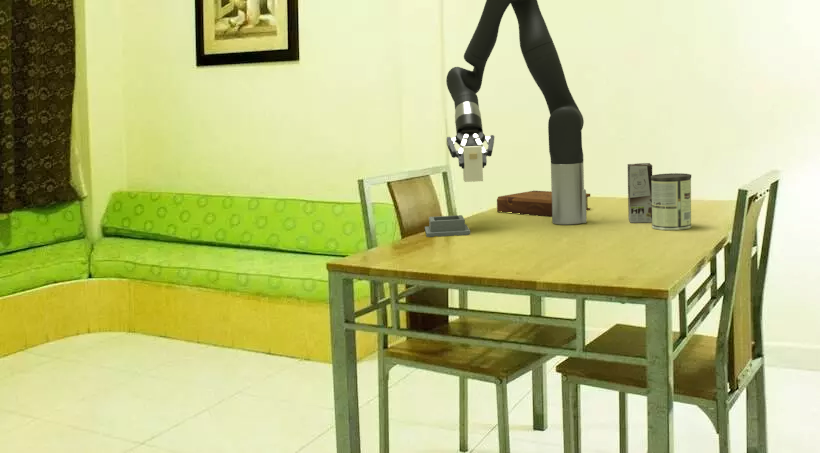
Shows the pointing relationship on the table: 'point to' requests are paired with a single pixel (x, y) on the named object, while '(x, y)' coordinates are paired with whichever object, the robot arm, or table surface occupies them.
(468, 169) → the cream block
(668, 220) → the coffee can
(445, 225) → the grey stepped pedestal
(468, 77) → the robot arm
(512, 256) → the table surface
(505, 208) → the diary
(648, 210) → the coffee box
